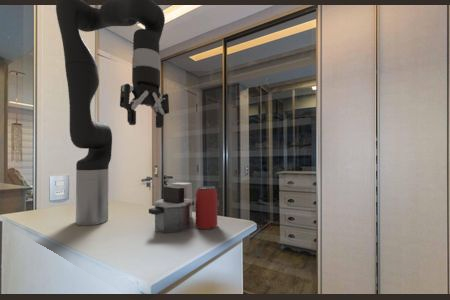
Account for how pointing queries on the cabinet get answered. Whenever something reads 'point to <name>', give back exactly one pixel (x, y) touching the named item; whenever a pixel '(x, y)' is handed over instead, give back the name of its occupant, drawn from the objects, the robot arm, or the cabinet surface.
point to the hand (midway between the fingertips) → (146, 126)
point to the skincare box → (186, 191)
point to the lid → (173, 198)
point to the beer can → (206, 207)
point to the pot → (171, 219)
